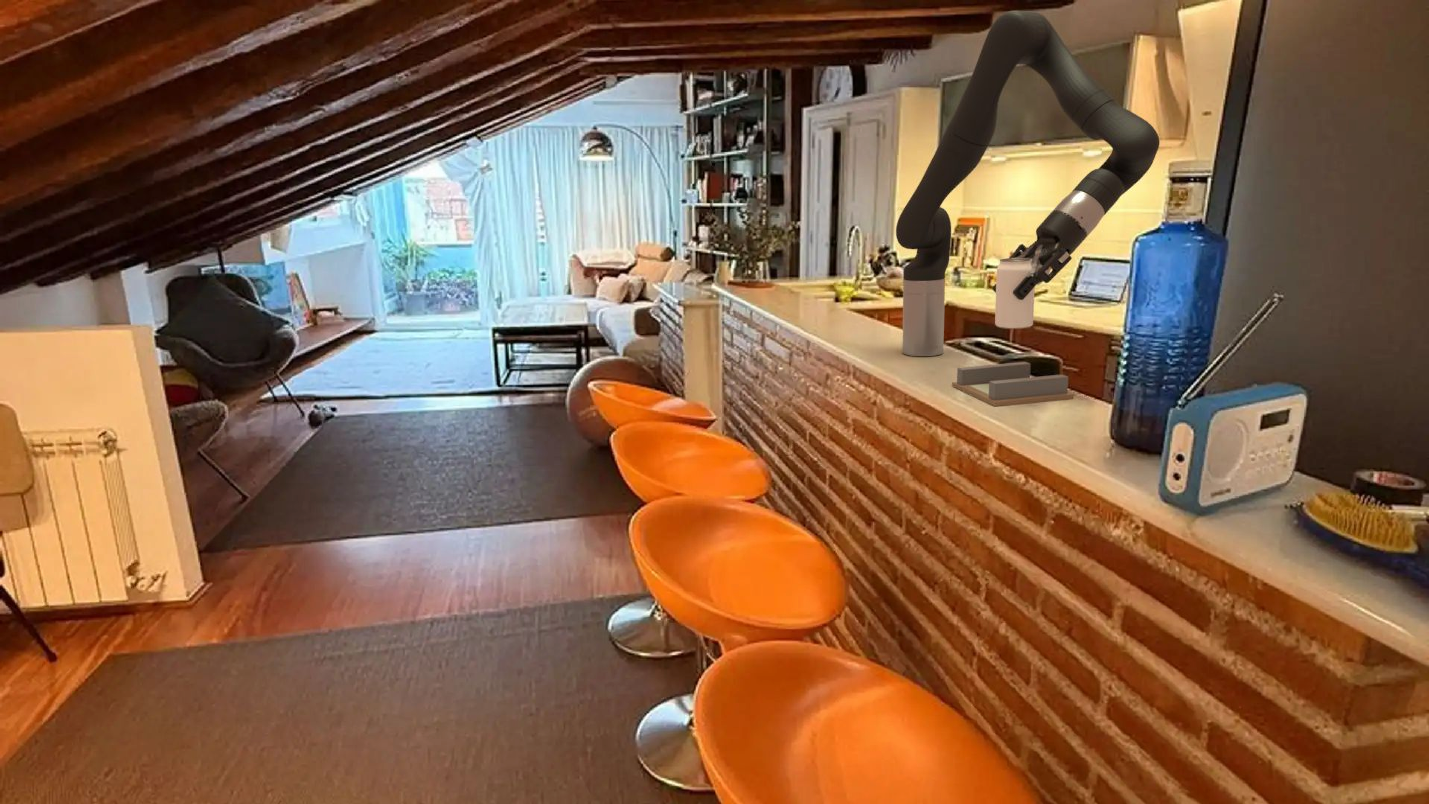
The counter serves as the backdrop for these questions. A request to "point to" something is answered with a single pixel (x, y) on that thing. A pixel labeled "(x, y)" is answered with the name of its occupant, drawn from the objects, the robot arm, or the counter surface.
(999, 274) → the can
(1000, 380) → the twin rail tray
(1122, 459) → the counter surface
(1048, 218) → the robot arm
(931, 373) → the counter surface
